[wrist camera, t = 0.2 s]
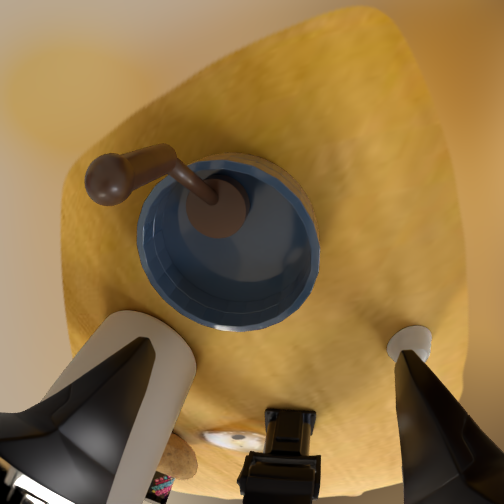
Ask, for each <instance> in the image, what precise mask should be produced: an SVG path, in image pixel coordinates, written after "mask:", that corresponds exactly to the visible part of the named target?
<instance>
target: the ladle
mask: <svg viewBox="0 0 504 504" xmlns="http://www.w3.org/2000/svg"><path fill="white" fill-rule="evenodd" d="M165 174H168V175H170V176H171V177H172V178H174V179H175V180H176V181H178V182H179V183H180V184H182V185H183V186H184V187H186V188H187V189H188V190H190V192H189V194H188V196H187V200H186V213H187V216H188V219H189V221H190V223H191V224H192V225H193V227H194V228H195V229H196V230H197V231H199V232H200V233H201V234H203V235H205V236H208V237H211V238H226V237H229V236H231V235H233V234H235V233H236V232H237V231H238V230H239V229H240V228H241V227H242V225H243V223H244V222H245V220H246V218H247V216H248V213H249V208H250V202H249V197H248V194H247V192H246V190H245V189H244V187H243V186H242V185H241V184H240V183H239V182H238V181H236V180H235V179H233V178H231V177H229V176H225V175H212V176H209V177H207V178H205V179H203V180H202V179H201V178H200V177H199V176H197V175H196V174H195V173H194V172H193V171H192V170H191V169H190V168H188V167H187V166H186V165H185V164H184V163H183V162H182V161H180V160H179V159H178V158H177V155H176V152H175V151H174V149H173V148H172V147H171V146H169V145H167V144H158V145H154V146H150V147H146V148H143V149H139V150H135V151H132V152H128V153H125V154H121V155H119V154H114V153H109V154H104V155H101V156H99V157H98V158H96V159H95V160H94V161H93V162H92V163H91V164H90V166H89V167H88V169H87V171H86V175H85V188H86V191H87V193H88V195H89V197H90V198H91V199H92V200H93V201H94V202H96V203H98V204H100V205H103V206H114V205H117V204H120V203H121V202H123V201H124V200H126V199H127V198H128V196H129V195H130V194H131V192H132V191H133V190H135V189H137V188H139V187H141V186H143V185H145V184H147V183H149V182H151V181H153V180H155V179H157V178H159V177H161V176H163V175H165Z"/></svg>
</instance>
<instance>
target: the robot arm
mask: <svg viewBox="0 0 504 504" xmlns="http://www.w3.org/2000/svg"><path fill="white" fill-rule="evenodd" d="M155 358H156V353H155V350H154V347H153V345H152V343H151V340H150V339H149V338H147V337H141V336H140V337H137V338H136V339H134V340H133V341H131V342H130V343H129V344H127V345H126V346H124V347H123V348H121V349H120V350H118V351H117V352H116V353H114V354H113V355H111V356H110V357H108V358H107V359H105V360H104V361H103V362H101V363H100V364H98V365H97V366H95V367H94V368H92V369H91V370H89V371H88V372H87V373H85V374H84V375H82V376H81V377H79V378H78V379H76V380H75V381H74V382H72V384H69V385H68V386H66V387H65V388H63V389H62V390H60V391H59V392H57V393H56V394H54V395H52V396H50V397H49V398H47V399H45V400H43V401H42V402H40V403H38V404H36V405H34V406H33V407H31V408H29V409H27V410H25V411H23V412H20V413H0V504H106V503H107V500H108V497H109V494H110V491H111V488H112V485H113V482H114V479H115V475H116V472H117V470H118V467H119V464H120V461H121V458H122V455H123V452H124V450H125V447H126V444H127V441H128V439H129V436H130V433H131V430H132V428H133V425H134V422H135V420H136V417H137V414H138V412H139V409H140V407H141V404H142V401H143V399H144V396H145V393H146V391H147V387H148V384H149V380H150V376H151V373H152V369H153V365H154V362H155ZM394 371H395V391H396V412H397V419H398V427H399V436H400V445H401V456H402V468H403V485H404V504H504V452H503V451H502V450H501V449H500V448H499V447H498V446H497V445H496V444H495V443H494V442H493V441H492V440H491V439H490V438H489V437H488V436H487V435H486V434H485V433H484V432H483V431H482V430H481V429H480V428H479V426H478V425H477V424H476V423H475V422H474V420H473V419H472V418H471V417H470V415H468V414H467V412H466V411H465V409H464V408H463V407H462V406H461V405H460V403H459V402H458V401H457V400H456V399H455V397H454V396H453V395H452V394H451V393H450V392H449V390H448V389H447V388H446V387H445V386H444V384H443V383H442V382H441V381H440V380H439V379H438V378H437V376H436V375H435V374H434V373H433V372H432V371H431V370H430V368H429V367H428V366H427V365H426V364H425V363H424V362H423V361H422V359H421V358H420V357H419V356H418V355H417V354H416V353H415V352H414V351H413V350H412V349H408V350H402V351H401V352H400V354H399V357H398V359H397V362H396V364H395V370H394ZM315 419H316V412H315V411H296V410H279V409H266V410H265V426H266V439H265V444H264V450H263V453H258V452H254V451H250V453H249V455H247V456H246V457H245V462H244V466H243V468H242V470H241V473H240V475H239V477H238V479H237V484H238V485H239V486H240V494H241V495H244V497H243V504H312V500H317V499H318V495H319V489H320V477H321V455H316V456H309V447H310V436H311V435H312V432H313V428H314V423H315Z"/></svg>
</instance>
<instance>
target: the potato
mask: <svg viewBox="0 0 504 504" xmlns="http://www.w3.org/2000/svg"><path fill="white" fill-rule="evenodd" d="M197 468H198V463H197V459H196V455H195V452H194V451H193V449H192V448H191V447H190V446H189V445H188V444H187V443H186V442H185V441H184V440H183V439H182V438H180V437H178V436H177V435H175V434H174V433H171V435H170V437H169V440H168V442H167V445H166V447H165V450H164V452H163V454H162V457H161V459H160V462H159V464H158V467H157V469H156V471H158V472H161V473H163V474H166V475H168V476H171V477H173V478H176V479H181V480H185V479H189V478H192V477H193V476H194V475H195V474H196V472H197Z"/></svg>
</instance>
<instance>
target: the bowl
mask: <svg viewBox="0 0 504 504" xmlns="http://www.w3.org/2000/svg"><path fill="white" fill-rule="evenodd" d="M186 166H187V167H188V168H190V169H191V170H192V171H193V172H194V173H195V174H196V175H197V176H199V177H200V178H201V179H202V180H203V179H205V178H207V177H209V176H212V175H225V176H229V177H231V178H233V179H235V180H236V181H238V182H239V183H240V184H241V185H242V186H243V187H244V189H245V190H246V192H247V194H248V197H249V202H250V208H249V213H248V216H247V218H246V220H245V222H244V223H243V225H242V227H241V228H240V229H239V230H238V231H237V232H236V233H235V234H233V235H231V236H229V237H226V238H211V237H208V236H205V235H203V234H201V233H200V232H199V231H197V230H196V229H195V228H194V227H193V225H192V224H191V223H190V221H189V219H188V216H187V213H186V200H187V196H188V194H189V192H190V190H188V189H187V188H186V187H184V186H183V185H182V184H180V183H179V182H178V181H176V180H175V179H174V178H172V177H171V176H170V175H168V176H166V177H165V178H164V179H163V180H161V181H160V182H159V183H158V184H157V185H155V187H154V188H153V190H152V191H151V193H150V194H149V196H148V197H147V199H146V200H145V202H144V204H143V207H142V210H141V213H140V216H139V220H138V224H137V248H138V252H139V257H140V261H141V265H142V267H143V269H144V271H145V273H146V275H147V277H148V279H149V281H150V283H151V285H152V286H153V287H154V288H155V290H156V291H157V292H158V293H159V295H160V296H161V297H162V298H163V300H165V301H166V302H167V303H168V304H169V305H170V306H172V307H173V308H174V309H175V310H177V311H178V312H179V313H180V314H182V315H184V316H185V317H187V318H189V319H191V320H193V321H195V322H197V323H199V324H201V325H204V326H208V327H211V328H214V329H218V330H223V331H234V332H245V331H252V330H259V329H264V328H266V327H269V326H271V325H274V324H276V323H279V322H281V321H283V320H284V319H286V318H287V317H288V316H290V315H291V314H292V313H294V312H295V311H296V310H298V309H299V308H300V306H301V305H302V304H303V303H304V301H305V300H306V299H307V297H308V296H309V295H310V293H311V291H312V289H313V286H314V284H315V281H316V278H317V276H318V273H319V264H320V240H319V230H318V225H317V221H316V216H315V213H314V210H313V207H312V204H311V202H310V200H309V198H308V196H307V195H306V193H305V192H304V190H303V189H302V187H301V186H300V185H299V184H298V182H297V181H296V180H295V179H294V178H293V177H292V176H291V175H290V174H288V173H287V172H286V171H285V170H283V169H282V168H280V167H279V166H277V165H276V164H274V163H272V162H270V161H268V160H266V159H263V158H261V157H257V156H254V155H251V154H244V153H220V154H214V155H210V156H207V157H204V158H202V159H199V160H196V161H194V162H191V163H189V164H187V165H186Z"/></svg>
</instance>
